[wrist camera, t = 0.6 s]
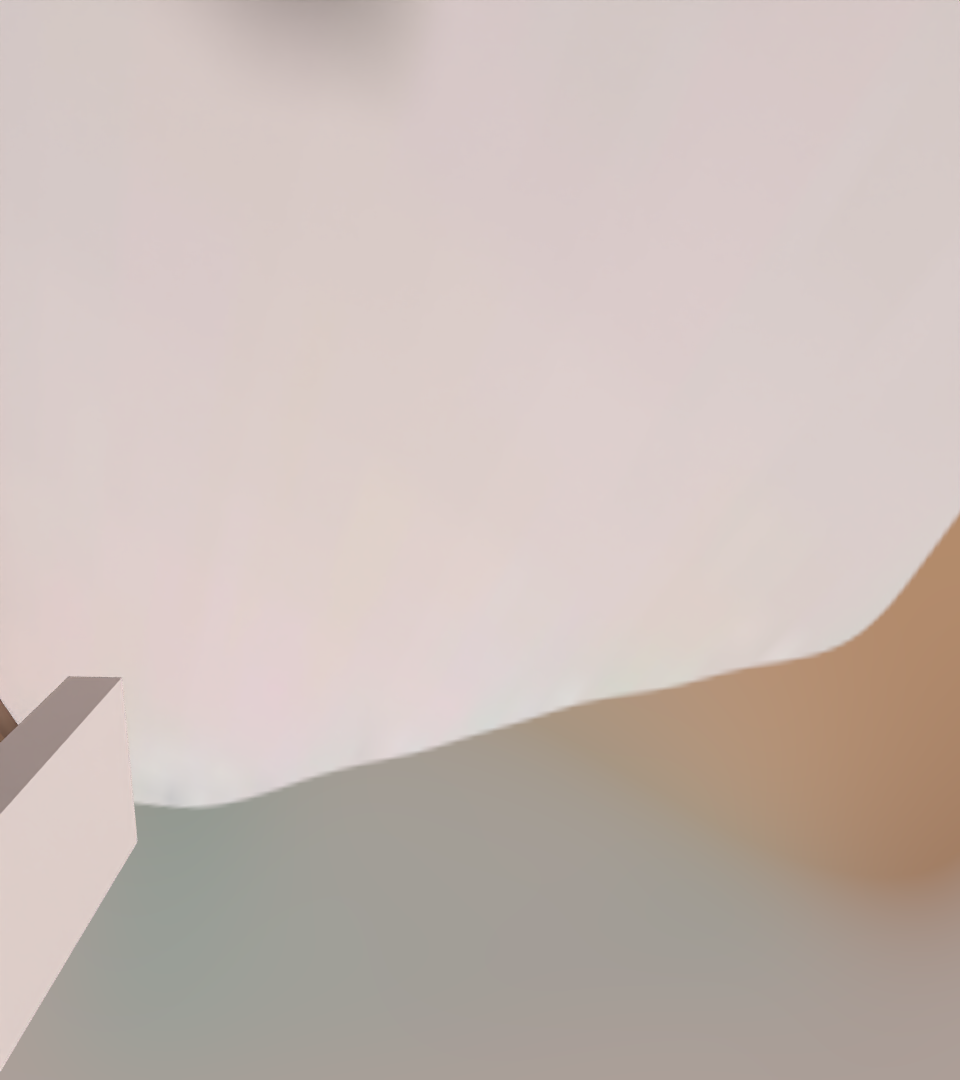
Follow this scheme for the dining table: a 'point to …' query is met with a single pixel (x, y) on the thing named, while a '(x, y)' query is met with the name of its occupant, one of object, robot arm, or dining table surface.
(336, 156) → the dining table surface
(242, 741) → the dining table surface
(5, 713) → the socket block
